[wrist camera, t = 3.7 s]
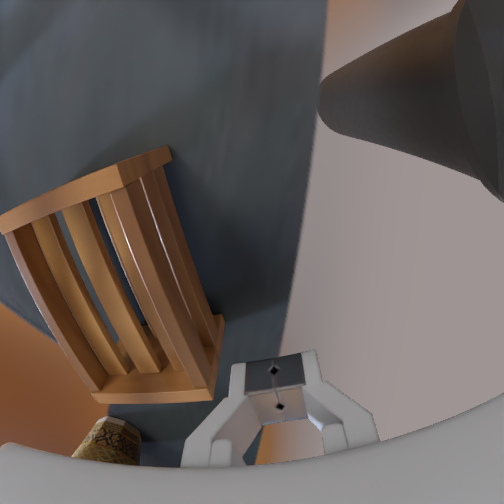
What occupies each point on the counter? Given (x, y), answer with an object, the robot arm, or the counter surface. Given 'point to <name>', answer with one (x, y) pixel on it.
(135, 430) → the ceramic cup
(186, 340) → the slatted rack
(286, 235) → the counter surface
